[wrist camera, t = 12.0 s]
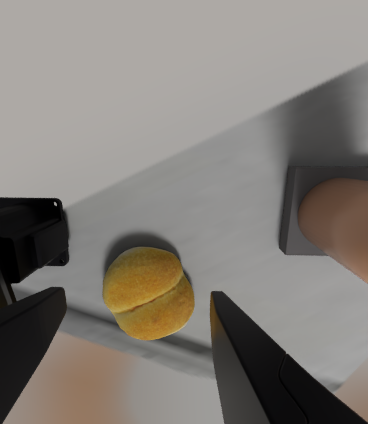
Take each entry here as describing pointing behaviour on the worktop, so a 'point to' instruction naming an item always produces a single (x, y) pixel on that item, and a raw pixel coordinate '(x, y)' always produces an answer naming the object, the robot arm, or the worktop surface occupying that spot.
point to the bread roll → (148, 293)
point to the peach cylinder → (338, 222)
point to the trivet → (296, 191)
